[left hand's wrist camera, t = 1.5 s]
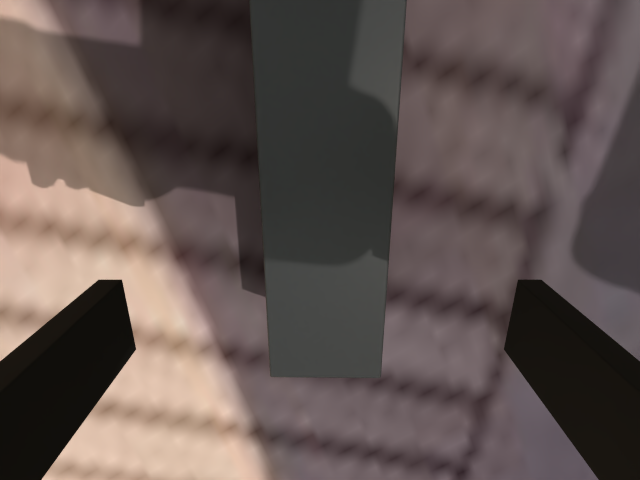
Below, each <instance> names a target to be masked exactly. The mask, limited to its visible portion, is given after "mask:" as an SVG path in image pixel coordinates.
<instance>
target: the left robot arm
mask: <svg viewBox="0 0 640 480" xmlns="http://www.w3.org/2000/svg"><path fill="white" fill-rule="evenodd" d="M135 350H136V347H135V342H134V337H133V332H132V327H131V322H130V317H129V312H128V307H127V303H126V298H125V293H124V288H123V283H122V280H98V281H97V282H96V283H94V284H93V285H92V286H91V287H89V288H88V289H87V290H86V291H85V292H83V293H82V294H81V295H80V296H79V297H77V298H76V299H75V300H74V301H73V302H71V303H70V304H69V305H68V306H67V307H65V308H64V309H63V310H62V311H61V312H59V313H58V314H57V315H56V316H55V317H53V318H52V319H51V320H50V321H48V322H47V323H46V324H45V325H44V326H42V327H41V328H40V329H39V330H38V331H36V332H35V333H34V334H33V335H32V336H30V337H29V338H28V339H27V340H26V341H24V342H23V343H22V344H21V345H20V346H18V347H17V348H16V349H15V350H14V351H12V352H11V353H10V354H9V355H7V356H6V357H5V358H4V359H3V360H1V361H0V480H41V479H42V478H43V477H44V475H45V474H46V472H47V471H48V470H49V468H50V467H51V466H52V464H53V463H54V461H55V460H56V459H57V457H58V456H59V455H60V453H61V452H62V450H63V449H64V448H65V446H66V445H67V444H68V442H69V441H70V439H71V438H72V437H73V435H74V434H75V433H76V431H77V430H78V428H79V427H80V426H81V424H82V423H83V422H84V420H85V419H86V417H87V416H88V415H89V413H90V412H91V411H92V409H93V408H94V406H95V405H96V404H97V402H98V401H99V400H100V398H101V397H102V395H103V394H104V393H105V391H106V390H107V389H108V387H109V386H110V384H111V383H112V382H113V380H114V379H115V378H116V376H117V375H118V373H119V372H120V371H121V369H122V368H123V367H124V365H125V364H126V362H127V361H128V360H129V358H130V357H131V356H132V354H133V353H134V351H135ZM504 350H505V351H506V353H507V354H508V356H509V357H510V358H511V360H512V361H513V362H514V364H515V365H516V367H517V368H518V369H519V371H520V372H521V373H522V375H523V376H524V378H525V379H526V380H527V382H528V383H529V384H530V386H531V387H532V389H533V390H534V391H535V393H536V394H537V395H538V397H539V398H540V400H541V401H542V402H543V404H544V405H545V406H546V408H547V409H548V411H549V412H550V413H551V415H552V416H553V417H554V419H555V420H556V422H557V423H558V424H559V426H560V427H561V428H562V430H563V431H564V433H565V434H566V435H567V437H568V438H569V439H570V441H571V442H572V444H573V445H574V446H575V448H576V449H577V450H578V452H579V453H580V455H581V456H582V457H583V459H584V460H585V461H586V463H587V464H588V466H589V467H590V468H591V470H592V471H593V472H594V474H595V475H596V477H597V478H598V479H599V480H640V361H639V360H637V359H636V358H635V357H634V356H633V355H631V354H630V353H629V352H628V351H626V350H625V349H624V348H623V347H622V346H620V345H619V344H618V343H617V342H616V341H614V340H613V339H612V338H611V337H610V336H608V335H607V334H606V333H605V332H604V331H602V330H601V329H600V328H599V327H598V326H596V325H595V324H594V323H593V322H592V321H590V320H589V319H588V318H587V317H585V316H584V315H583V314H582V313H581V312H579V311H578V310H577V309H576V308H575V307H573V306H572V305H571V304H570V303H569V302H567V301H566V300H565V299H564V298H563V297H561V296H560V295H559V294H558V293H557V292H555V291H554V290H553V289H552V288H551V287H549V286H548V285H547V284H546V283H544V282H543V281H542V280H518V283H517V288H516V293H515V298H514V302H513V307H512V312H511V317H510V322H509V327H508V332H507V337H506V342H505V347H504Z"/></svg>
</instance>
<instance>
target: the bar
mask: <svg viewBox="0 0 640 480" xmlns="http://www.w3.org/2000/svg"><path fill="white" fill-rule="evenodd" d="M406 2H407V0H249V7H250V24H251V42H252V60H253V78H254V96H255V114H256V131H257V149H258V167H259V185H260V203H261V220H262V238H263V256H264V274H265V292H266V309H267V327H268V345H269V363H270V376H271V377H332V378H380V377H381V365H382V351H383V336H384V322H385V307H386V293H387V278H388V264H389V249H390V234H391V220H392V205H393V191H394V176H395V162H396V147H397V133H398V118H399V104H400V89H401V75H402V60H403V46H404V31H405V16H406Z"/></svg>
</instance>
